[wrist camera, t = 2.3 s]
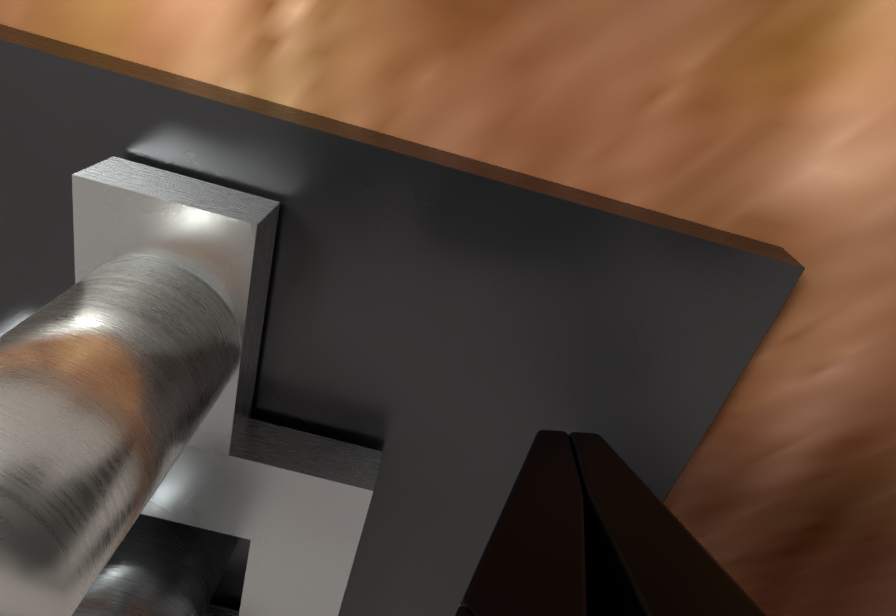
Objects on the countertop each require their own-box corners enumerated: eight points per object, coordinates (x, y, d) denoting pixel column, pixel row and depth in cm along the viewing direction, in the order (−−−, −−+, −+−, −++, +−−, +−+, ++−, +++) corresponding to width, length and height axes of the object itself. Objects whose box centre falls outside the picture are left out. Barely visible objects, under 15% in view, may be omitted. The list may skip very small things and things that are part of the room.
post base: (472, 785, 22) (465, 1036, 17) (-145, 651, 21) (-365, 878, 15) (781, 247, 12) (1014, 453, 7) (-395, -89, 10) (-1301, -171, 5)
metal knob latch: (318, 679, 18) (237, 997, 12) (6, 609, 17) (-230, 908, 11) (440, 246, 11) (387, 504, 6) (-59, 109, 10) (-684, 241, 5)
